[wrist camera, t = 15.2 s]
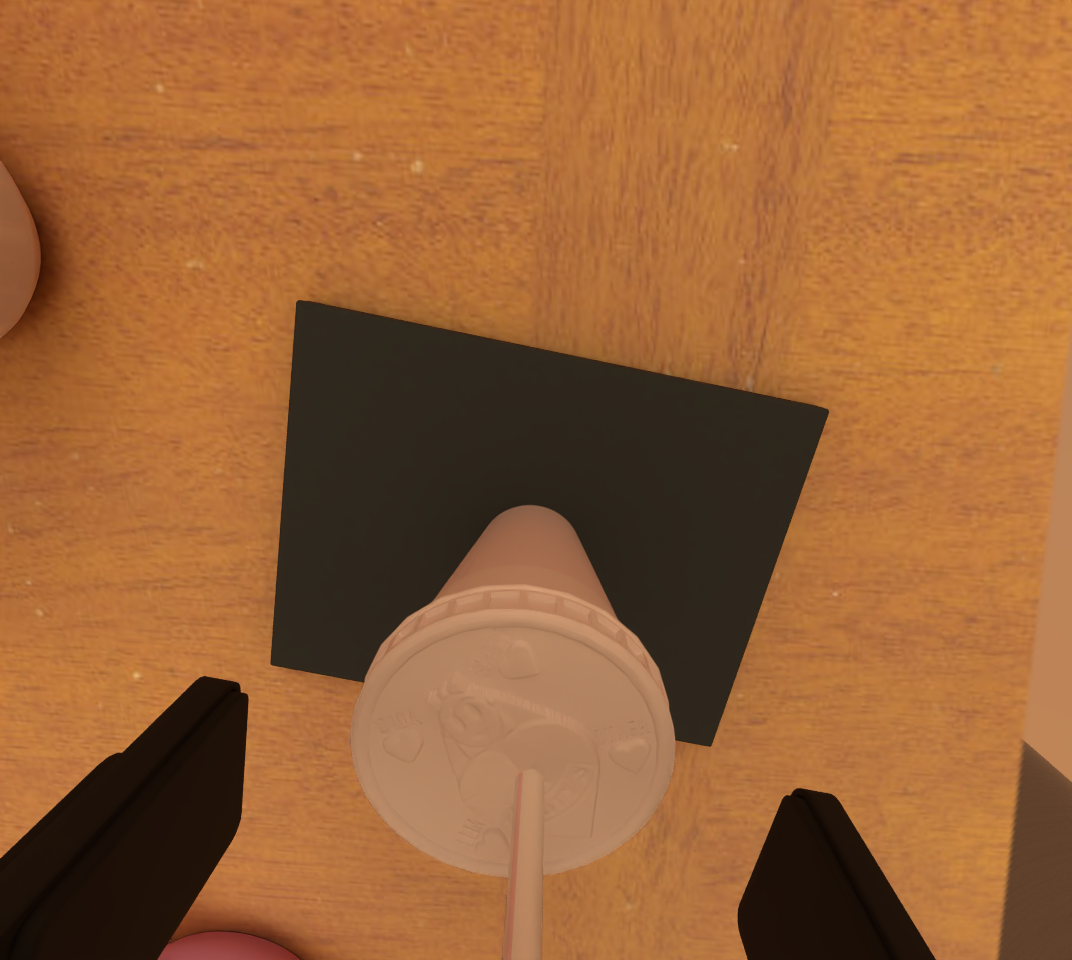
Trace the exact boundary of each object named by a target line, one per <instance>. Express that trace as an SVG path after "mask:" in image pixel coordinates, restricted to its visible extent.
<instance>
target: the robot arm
mask: <svg viewBox="0 0 1072 960" xmlns="http://www.w3.org/2000/svg"><path fill="white" fill-rule="evenodd" d="M247 717H248V695H247V694H245V693H241V690H240V685H239V683H237V682H233V681H228V680H223V679H217V678H212V677H207V676H203V677H200V678H199V679H198V680H196V681H195V682H194V683H193V684H192V685H191V686H190V687H189V688H188V689H187V690H186V691H185V692H184V693H183V694H182V695H181V696H180V697H179V698H178V699H177V700H176V701H175V702H174V703H173V704H172V705H171V706H170V707H169V708H167V709H166V710H165V711H164V712H163V713H162V714H161V715H160V716H159V717H158V718H157V719H156V720H155V721H154V722H153V723H152V724H151V725H150V726H149V727H148V728H147V729H146V730H145V731H144V732H143V733H142V734H141V735H140V736H139V737H138V738H137V739H136V740H135V741H134V742H133V743H132V744H131V745H130V746H129V747H128V748H127V749H126V750H125V751H124V752H123V753H116V754H114V755H111V756H109V757H108V758H106V759H105V760H104V761H103V762H101V763H100V764H99V765H98V766H97V767H96V768H95V769H94V770H92V771H91V772H90V773H89V774H88V775H87V776H86V777H85V778H84V779H83V780H82V781H81V782H80V783H79V784H78V785H77V786H76V787H75V788H74V789H73V790H72V791H71V792H69V793H68V794H67V795H66V796H65V797H64V798H63V799H62V800H61V801H60V802H59V803H58V804H57V805H56V806H55V807H54V808H53V809H52V810H51V811H50V812H49V813H48V814H46V815H45V816H44V817H43V818H42V819H41V820H40V821H39V822H38V823H37V824H36V825H35V826H34V827H33V828H32V829H31V830H30V831H29V832H28V833H27V834H26V835H25V836H23V837H22V838H21V839H20V840H19V841H18V842H17V843H16V844H15V845H14V846H13V847H12V848H11V849H10V850H9V851H8V852H7V853H6V854H5V855H4V856H3V857H2V858H0V960H158V958H159V956H160V955H161V953H162V952H163V950H164V948H165V947H166V945H167V944H168V942H169V940H170V939H171V937H172V936H173V934H174V933H175V931H176V929H177V928H178V926H179V925H180V923H181V921H182V920H183V918H184V917H185V915H186V913H187V912H188V910H189V909H190V907H191V905H192V904H193V902H194V901H195V899H196V897H197V896H198V894H199V893H200V891H201V890H202V888H203V886H204V885H205V883H206V882H207V880H208V878H209V877H210V875H211V874H212V872H213V870H214V869H215V867H216V866H217V864H218V862H219V861H220V859H221V858H222V856H223V854H224V853H225V851H226V850H227V848H228V846H229V845H230V843H231V842H232V840H233V838H234V836H235V834H236V832H237V829H238V826H239V823H240V820H241V814H242V798H243V782H244V766H245V750H246V734H247ZM738 928H739V932H740V936H741V939H742V942H743V946H744V949H745V952H746V955H747V959H748V960H936V959H935V958H934V956H933V954H932V953H931V951H930V949H929V948H928V946H927V944H926V943H925V941H924V939H923V938H922V936H921V935H920V933H919V931H918V930H917V928H916V926H915V925H914V923H913V921H912V920H911V918H910V916H909V915H908V913H907V912H906V910H905V908H904V907H903V905H902V903H901V902H900V900H899V898H898V897H897V895H896V894H895V892H894V890H893V889H892V887H891V885H890V884H889V882H888V880H887V879H886V877H885V875H884V874H883V872H882V871H881V869H880V867H879V866H878V864H877V862H876V861H875V859H874V857H873V856H872V854H871V852H870V851H869V849H868V848H867V846H866V844H865V843H864V841H863V839H862V838H861V836H860V834H859V833H858V831H857V830H856V828H855V826H854V825H853V823H852V821H851V820H850V818H849V816H848V815H847V813H846V811H845V810H844V808H843V807H842V805H841V803H840V802H839V801H838V799H837V798H836V797H835V796H833V795H832V794H828V793H823V792H818V791H813V790H807V789H802V788H797V789H795V790H794V791H793V792H792V794H791V796H789V795H786V796H785V797H784V798H783V799H782V801H781V804H780V806H779V809H778V811H777V814H776V816H775V818H774V821H773V823H772V826H771V828H770V831H769V833H768V836H767V838H766V841H765V843H764V845H763V848H762V850H761V853H760V855H759V858H758V860H757V863H756V865H755V867H754V870H753V872H752V875H751V877H750V880H749V882H748V885H747V887H746V889H745V892H744V894H743V897H742V899H741V902H740V904H739V908H738Z"/></svg>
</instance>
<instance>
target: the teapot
mask: <svg viewBox="0 0 1072 960" xmlns="http://www.w3.org/2000/svg"><path fill="white" fill-rule="evenodd" d="M158 960H300V959H299V958H298V957H297V956H295V955H294V954H292V953H291V952H289V951H288V950H286V949H284V948H283V947H281V946H279V945H277V944H275V943H272V942H270V941H268V940H265V939H262V938H259V937H256V936H252V935H248V934H243V933H236V932H221V931H216V932H204V933H199V934H193V935H190V936H187V937H184V938H181V939H179V940H177V941H175V942H172V943H170V944H168V945H166V947H165V948H164V950H163V952H162V953H161V955H160V956H159V958H158Z"/></svg>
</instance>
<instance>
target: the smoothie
mask: <svg viewBox="0 0 1072 960" xmlns="http://www.w3.org/2000/svg"><path fill="white" fill-rule="evenodd" d="M350 743H351V754H352V759H353V764H354V768H355V771H356V774H357V778H358V780H359V782H360V785H361V787H362V789H363V791H364V793H365V795H366V797H367V798H368V800H369V802H370V803H371V805H372V806H373V808H374V809H375V810H376V812H377V813H378V815H379V816H380V817H381V818H382V819H383V820H384V821H385V822H386V824H388V825H389V826H390V827H391V828H392V829H393V830H394V831H395V832H396V833H397V834H398V835H399V836H400V837H402V838H403V839H404V840H406V841H407V842H408V843H410V844H411V845H413V846H414V847H415V848H417V849H418V850H419V851H421V852H423V853H425V854H427V855H429V856H431V857H433V858H435V859H437V860H439V861H441V862H443V863H445V864H448V865H451V866H454V867H457V868H460V869H463V870H466V871H470V872H473V873H478V874H485V875H491V876H497V877H508V884H507V897H506V910H505V923H504V936H503V949H502V960H542V924H543V876H546V875H553V874H560V873H563V872H566V871H570V870H573V869H576V868H579V867H583V866H586V865H588V864H590V863H592V862H594V861H596V860H598V859H601V858H602V857H604V856H606V855H608V854H610V853H612V852H613V851H615V850H616V849H618V848H619V847H621V846H622V845H624V844H625V843H626V842H627V841H629V840H630V839H631V838H632V837H634V836H635V835H636V834H637V833H638V832H639V831H640V830H641V829H642V828H643V827H644V826H645V824H646V823H647V822H648V821H649V820H650V818H651V817H652V816H653V814H654V813H655V811H656V810H657V808H658V807H659V805H660V803H661V802H662V800H663V798H664V796H665V794H666V791H667V789H668V786H669V783H670V781H671V777H672V773H673V769H674V761H675V734H674V727H673V722H672V718H671V714H670V711H669V701H668V698H667V694H666V691H665V688H664V684H663V681H662V678H661V674H660V671H659V668H658V667H657V665H656V664H655V662H654V661H653V659H652V658H651V656H650V655H649V653H648V652H647V650H646V649H645V647H644V646H643V644H642V643H641V641H640V640H639V638H638V637H637V636H636V635H635V634H634V633H632V632H631V631H630V630H629V629H628V628H627V627H625V626H624V625H623V624H622V623H621V622H619V620H618V618H617V617H616V615H615V613H614V610H613V608H612V606H611V604H610V602H609V600H608V598H607V596H606V594H605V592H604V590H603V588H602V586H601V584H600V581H599V579H598V577H597V575H596V573H595V571H594V569H593V567H592V565H591V563H590V561H589V559H588V557H587V555H586V552H585V550H584V548H583V546H582V544H581V542H580V540H579V538H578V536H577V534H576V532H575V530H574V529H573V527H572V526H571V524H570V523H569V522H568V521H567V520H566V519H565V518H564V517H563V516H561V515H560V514H558V513H557V512H555V511H553V510H551V509H548V508H545V507H541V506H535V505H524V506H518V507H514V508H511V509H508V510H506V511H504V512H503V513H501V514H499V515H498V516H497V517H496V518H494V519H493V520H492V521H491V523H490V524H489V525H488V526H487V528H486V529H485V531H484V532H483V533H482V535H481V536H480V537H479V539H478V540H477V542H476V543H475V544H474V546H473V547H472V548H471V550H470V551H469V552H468V554H467V555H466V557H465V558H464V559H463V561H462V562H461V563H460V565H459V566H458V568H457V569H456V570H455V572H454V573H453V574H452V576H451V577H450V578H449V580H448V581H447V583H446V584H445V585H444V587H443V588H442V589H441V591H440V592H439V594H438V595H437V596H436V598H435V599H434V600H433V601H432V602H431V603H430V604H428V605H427V606H425V607H423V608H422V609H420V610H418V611H417V612H415V613H413V614H412V615H410V616H408V617H407V618H406V619H405V620H404V621H403V622H402V623H401V624H400V625H399V626H398V627H397V628H396V630H395V631H394V632H393V633H392V634H391V635H390V636H389V637H388V638H387V639H386V640H385V641H384V642H383V643H382V644H381V646H380V648H379V650H378V652H377V654H376V656H375V658H374V660H373V662H372V664H371V666H370V668H369V670H368V672H367V674H366V676H365V682H364V685H363V687H362V689H361V692H360V694H359V696H358V699H357V701H356V705H355V708H354V712H353V717H352V723H351V735H350Z"/></svg>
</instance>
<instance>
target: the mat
mask: <svg viewBox="0 0 1072 960" xmlns="http://www.w3.org/2000/svg"><path fill="white" fill-rule="evenodd" d="M828 414H829V410H828V409H825V408H822V407H818V406H815V405H810V404H805V403H800V402H795V401H790V400H786V399H781V398H776V397H771V396H766V395H761V394H757V393H752V392H747V391H742V390H737V389H732V388H728V387H723V386H718V385H713V384H708V383H703V382H698V381H694V380H689V379H684V378H679V377H674V376H669V375H665V374H660V373H655V372H650V371H645V370H640V369H635V368H631V367H626V366H621V365H616V364H611V363H606V362H602V361H597V360H592V359H587V358H582V357H577V356H573V355H568V354H563V353H558V352H553V351H548V350H543V349H539V348H534V347H529V346H524V345H519V344H514V343H510V342H505V341H500V340H495V339H490V338H485V337H480V336H476V335H471V334H466V333H461V332H456V331H451V330H447V329H442V328H437V327H432V326H427V325H422V324H418V323H413V322H408V321H403V320H398V319H393V318H388V317H384V316H379V315H374V314H369V313H364V312H359V311H355V310H350V309H345V308H340V307H335V306H330V305H325V304H321V303H316V302H311V301H303V300H298V301H297V303H296V315H295V329H294V343H293V357H292V371H291V385H290V399H289V413H288V427H287V441H286V455H285V469H284V483H283V496H282V510H281V524H280V538H279V552H278V566H277V580H276V594H275V608H274V622H273V636H272V650H271V665H273V666H278V667H284V668H289V669H294V670H300V671H305V672H311V673H316V674H321V675H327V676H332V677H338V678H343V679H348V680H354V681H359V682H365V676H366V674H367V672H368V670H369V668H370V666H371V664H372V662H373V660H374V658H375V656H376V654H377V652H378V650H379V648H380V646H381V644H382V643H383V642H384V641H385V640H386V639H387V638H388V637H389V636H390V635H391V634H392V633H393V632H394V631H395V630H396V628H397V627H398V626H399V625H400V624H401V623H402V622H403V621H404V620H405V619H406V618H407V617H408V616H410V615H412V614H413V613H415V612H417V611H418V610H420V609H422V608H423V607H425V606H427V605H428V604H430V603H431V602H432V601H433V600H434V599H435V598H436V596H437V595H438V594H439V592H440V591H441V589H442V588H443V587H444V585H445V584H446V583H447V581H448V580H449V578H450V577H451V576H452V574H453V573H454V572H455V570H456V569H457V568H458V566H459V565H460V563H461V562H462V561H463V559H464V558H465V557H466V555H467V554H468V552H469V551H470V550H471V548H472V547H473V546H474V544H475V543H476V542H477V540H478V539H479V537H480V536H481V535H482V533H483V532H484V531H485V529H486V528H487V526H488V525H489V524H490V523H491V521H492V520H493V519H494V518H496V517H497V516H498V515H499V514H501V513H503V512H504V511H506V510H508V509H511V508H514V507H518V506H524V505H535V506H541V507H545V508H548V509H551V510H553V511H555V512H557V513H558V514H560V515H561V516H563V517H564V518H565V519H566V520H567V521H568V522H569V523H570V524H571V526H572V527H573V529H574V530H575V532H576V534H577V536H578V538H579V540H580V542H581V544H582V546H583V548H584V550H585V552H586V555H587V557H588V559H589V561H590V563H591V565H592V567H593V569H594V571H595V573H596V575H597V577H598V579H599V581H600V584H601V586H602V588H603V590H604V592H605V594H606V596H607V598H608V600H609V602H610V604H611V606H612V608H613V610H614V613H615V615H616V617H617V618H618V620H619V622H621V623H622V624H623V625H624V626H625V627H627V628H628V629H629V630H630V631H631V632H632V633H634V634H635V635H636V636H637V637H638V638H639V640H640V641H641V643H642V644H643V646H644V647H645V649H646V650H647V652H648V653H649V655H650V656H651V658H652V659H653V661H654V662H655V664H656V665H657V667H658V668H659V671H660V674H661V678H662V681H663V684H664V688H665V691H666V694H667V698H668V701H669V711H670V714H671V718H672V722H673V727H674V734H675V740H677V741H682V742H687V743H693V744H698V745H703V746H709V747H710V746H712V743H713V740H714V737H715V734H716V731H717V729H718V726H719V723H720V720H721V717H722V714H723V712H724V709H725V706H726V703H727V700H728V697H729V695H730V692H731V689H732V686H733V683H734V680H735V678H736V675H737V672H738V669H739V666H740V663H741V661H742V658H743V655H744V652H745V649H746V646H747V643H748V641H749V638H750V635H751V632H752V629H753V626H754V624H755V621H756V618H757V615H758V612H759V609H760V607H761V604H762V601H763V598H764V595H765V592H766V590H767V587H768V584H769V581H770V578H771V575H772V573H773V570H774V567H775V564H776V561H777V558H778V556H779V553H780V550H781V547H782V544H783V541H784V539H785V536H786V533H787V530H788V527H789V524H790V522H791V519H792V516H793V513H794V510H795V507H796V505H797V502H798V499H799V496H800V493H801V490H802V488H803V485H804V482H805V479H806V476H807V473H808V471H809V468H810V465H811V462H812V459H813V456H814V454H815V451H816V448H817V445H818V442H819V439H820V437H821V434H822V431H823V428H824V425H825V422H826V420H827V417H828Z"/></svg>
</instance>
